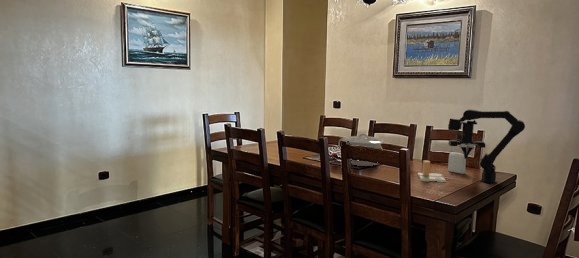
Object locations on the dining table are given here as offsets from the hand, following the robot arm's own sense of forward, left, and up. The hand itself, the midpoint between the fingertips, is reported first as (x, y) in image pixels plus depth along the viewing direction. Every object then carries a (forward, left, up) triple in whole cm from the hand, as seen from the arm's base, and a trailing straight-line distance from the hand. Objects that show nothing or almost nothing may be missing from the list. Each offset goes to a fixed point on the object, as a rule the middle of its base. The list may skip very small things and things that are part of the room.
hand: (465, 158), depth 229 cm
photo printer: (+14, -8, -12) cm, 20 cm away
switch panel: (+6, +18, -12) cm, 23 cm away
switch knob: (+8, +21, -11) cm, 25 cm away
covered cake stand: (+50, +37, -12) cm, 63 cm away
